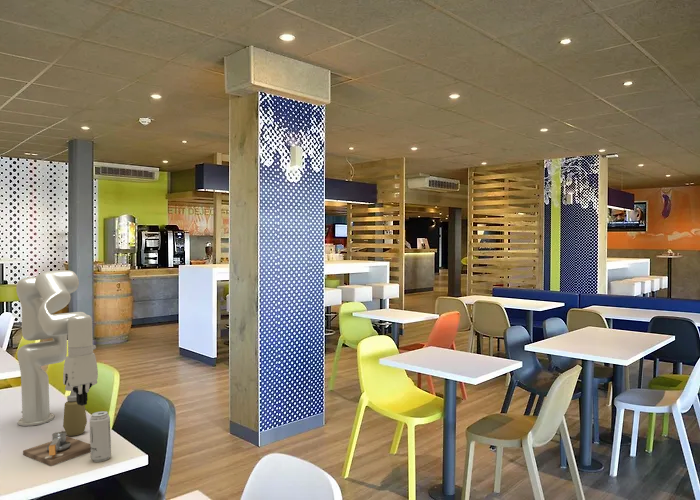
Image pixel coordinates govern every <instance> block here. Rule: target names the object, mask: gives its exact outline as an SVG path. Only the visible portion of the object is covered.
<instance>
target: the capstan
mask: <svg viewBox="0 0 700 500" xmlns="http://www.w3.org/2000/svg"><path fill="white" fill-rule="evenodd" d="M66 436H67V434H66V432H65V430H64V431H55V432H54V433H52V437H51V438H52V439H51V440H52V443H51V444H50V445H49V446H47V451H48V452H49V456H50V455H55V454H56V452H60V451H64V450H66V449H68V448H70V442H67V441H66Z"/></svg>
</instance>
